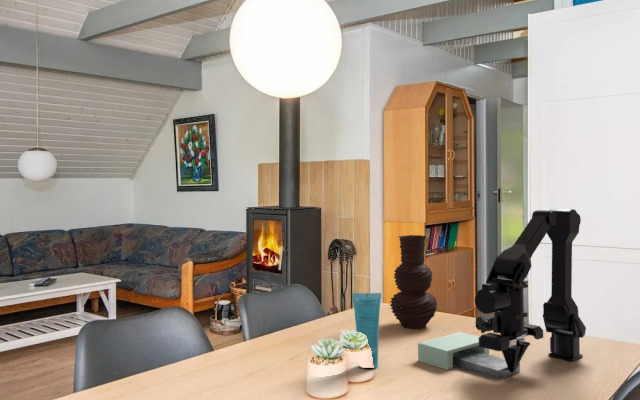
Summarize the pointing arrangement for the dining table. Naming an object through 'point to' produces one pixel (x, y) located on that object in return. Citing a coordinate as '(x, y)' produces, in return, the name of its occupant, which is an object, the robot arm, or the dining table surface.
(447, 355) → the pale mint green box
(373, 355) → the tube
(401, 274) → the vase
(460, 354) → the grey flat block
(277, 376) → the dining table surface
